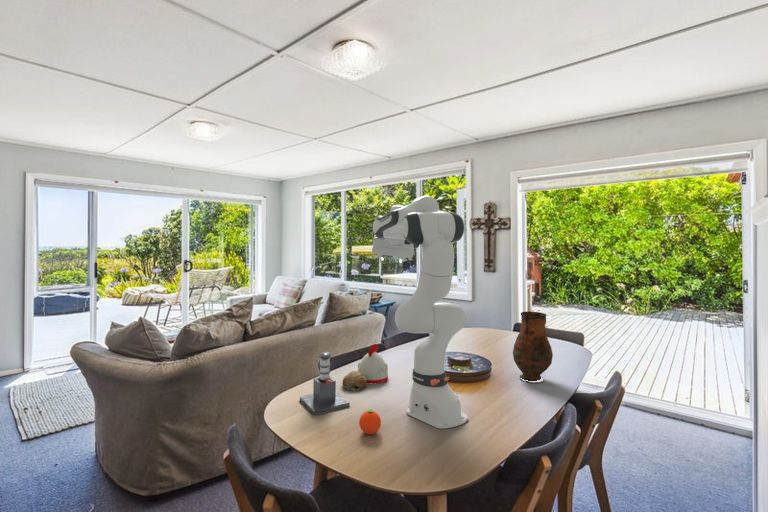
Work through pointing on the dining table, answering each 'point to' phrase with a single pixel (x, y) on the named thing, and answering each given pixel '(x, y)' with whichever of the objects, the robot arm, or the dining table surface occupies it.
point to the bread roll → (354, 381)
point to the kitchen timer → (373, 367)
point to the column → (324, 366)
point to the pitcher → (532, 346)
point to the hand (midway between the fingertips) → (390, 263)
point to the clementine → (370, 422)
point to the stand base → (324, 398)
